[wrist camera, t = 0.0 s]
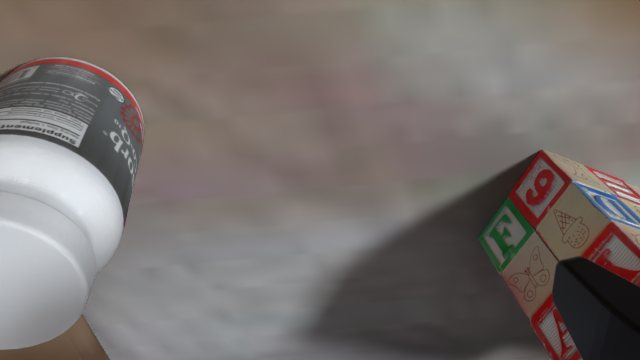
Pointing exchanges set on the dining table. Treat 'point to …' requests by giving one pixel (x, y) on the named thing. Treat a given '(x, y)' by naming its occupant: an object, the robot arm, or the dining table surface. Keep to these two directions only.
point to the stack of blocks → (561, 237)
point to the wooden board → (63, 346)
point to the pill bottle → (60, 190)
